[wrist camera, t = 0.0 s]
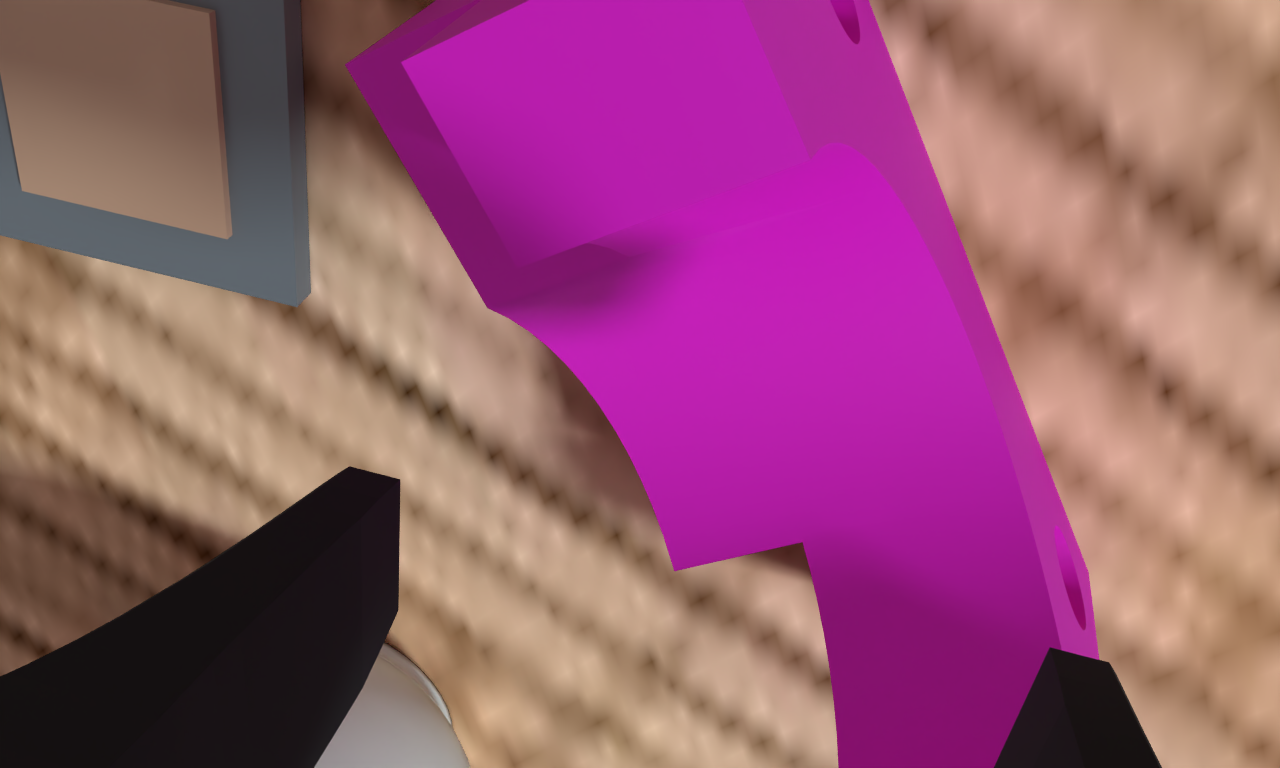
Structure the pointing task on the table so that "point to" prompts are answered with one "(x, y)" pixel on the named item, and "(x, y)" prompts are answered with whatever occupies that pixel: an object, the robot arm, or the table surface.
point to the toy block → (761, 323)
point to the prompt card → (159, 137)
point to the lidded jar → (396, 722)
